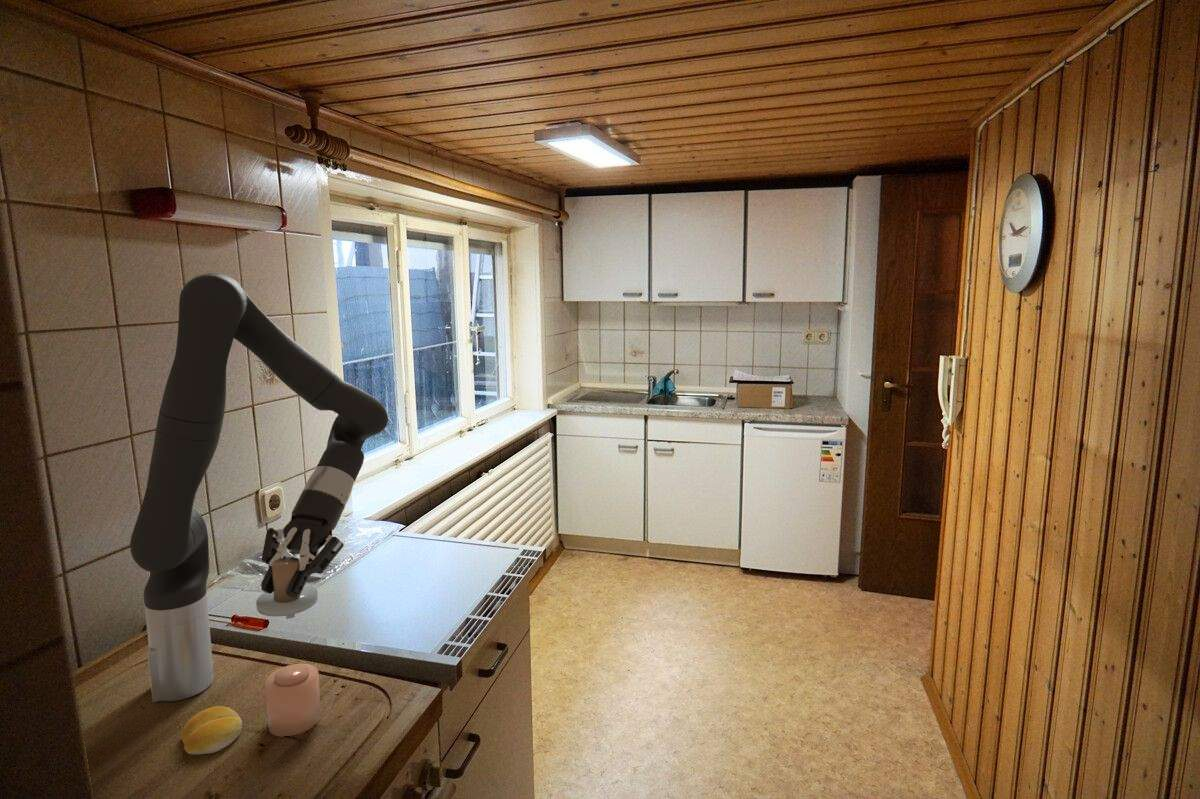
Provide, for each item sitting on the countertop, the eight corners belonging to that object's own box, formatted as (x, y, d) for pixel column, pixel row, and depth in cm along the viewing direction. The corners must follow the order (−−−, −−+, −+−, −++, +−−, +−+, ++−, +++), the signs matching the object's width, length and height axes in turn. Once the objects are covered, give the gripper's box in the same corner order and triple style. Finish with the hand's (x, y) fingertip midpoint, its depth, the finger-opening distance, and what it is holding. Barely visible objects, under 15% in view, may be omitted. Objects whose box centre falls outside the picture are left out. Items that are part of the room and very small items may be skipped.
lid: (259, 627, 98) (256, 579, 97) (254, 602, 105) (252, 557, 104) (322, 613, 103) (320, 567, 101) (313, 591, 110) (311, 547, 109)
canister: (270, 743, 102) (267, 693, 100) (266, 714, 109) (262, 667, 107) (324, 726, 106) (321, 678, 105) (316, 700, 113) (314, 654, 111)
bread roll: (188, 765, 97) (186, 742, 96) (179, 734, 104) (177, 712, 103) (248, 741, 102) (247, 719, 102) (236, 713, 109) (234, 692, 108)
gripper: (277, 483, 110) (226, 579, 100) (350, 492, 107) (305, 591, 97) (299, 503, 116) (253, 595, 106) (369, 512, 113) (328, 607, 103)
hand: (278, 593), depth 102 cm, fingers closed on lid, 4 cm apart
